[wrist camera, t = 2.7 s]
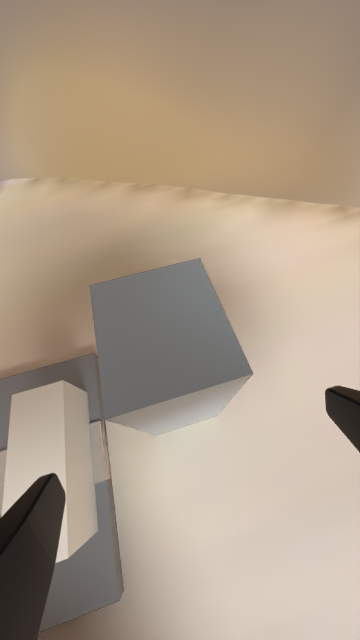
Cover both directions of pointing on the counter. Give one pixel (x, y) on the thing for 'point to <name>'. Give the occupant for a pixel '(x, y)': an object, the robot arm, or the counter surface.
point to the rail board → (65, 477)
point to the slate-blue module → (165, 348)
